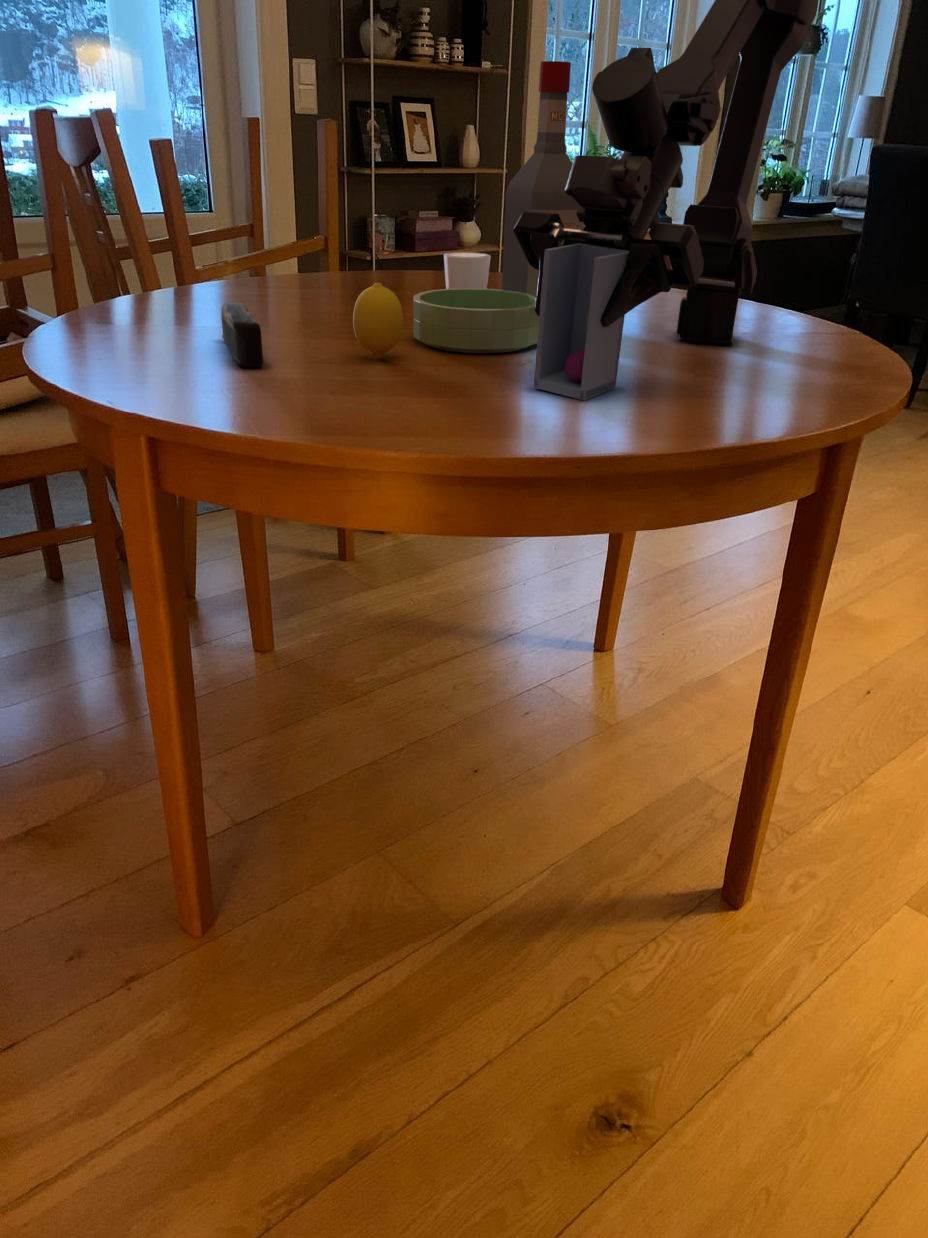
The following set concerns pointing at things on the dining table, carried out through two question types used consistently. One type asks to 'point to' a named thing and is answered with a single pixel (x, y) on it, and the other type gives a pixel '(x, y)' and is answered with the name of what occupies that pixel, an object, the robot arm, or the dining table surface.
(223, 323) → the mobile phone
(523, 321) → the bowl
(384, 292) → the lemon
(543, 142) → the liquor
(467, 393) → the dining table surface
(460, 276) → the white cup
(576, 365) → the ball
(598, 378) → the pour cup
